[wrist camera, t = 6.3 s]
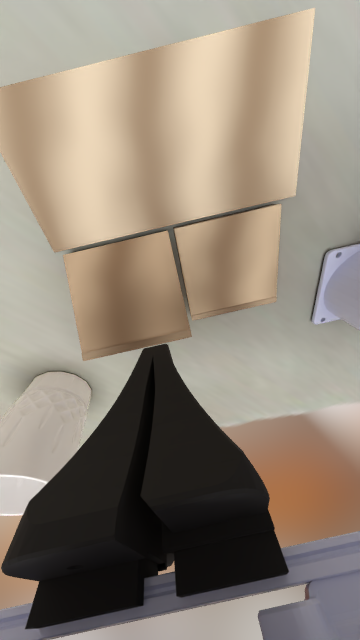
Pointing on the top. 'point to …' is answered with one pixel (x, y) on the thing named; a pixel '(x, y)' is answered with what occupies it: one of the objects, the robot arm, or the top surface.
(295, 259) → the top surface
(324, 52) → the top surface
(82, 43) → the top surface
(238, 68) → the floor board
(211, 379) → the top surface
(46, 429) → the white cup
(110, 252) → the plank
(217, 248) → the plank
